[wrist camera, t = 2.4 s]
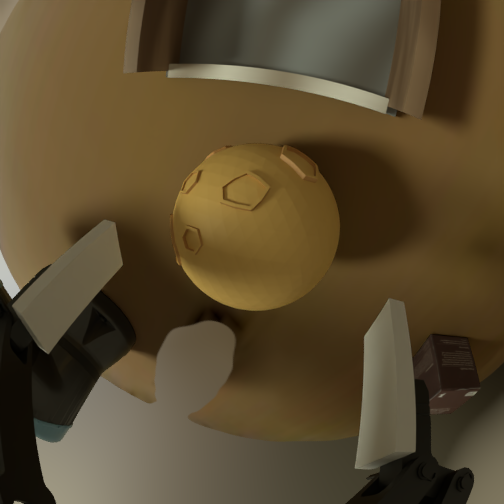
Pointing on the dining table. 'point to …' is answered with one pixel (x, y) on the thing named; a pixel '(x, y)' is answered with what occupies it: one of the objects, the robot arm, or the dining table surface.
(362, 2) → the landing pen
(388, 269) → the dining table surface
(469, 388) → the box
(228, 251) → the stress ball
